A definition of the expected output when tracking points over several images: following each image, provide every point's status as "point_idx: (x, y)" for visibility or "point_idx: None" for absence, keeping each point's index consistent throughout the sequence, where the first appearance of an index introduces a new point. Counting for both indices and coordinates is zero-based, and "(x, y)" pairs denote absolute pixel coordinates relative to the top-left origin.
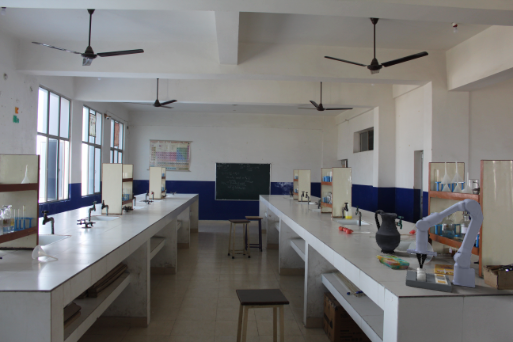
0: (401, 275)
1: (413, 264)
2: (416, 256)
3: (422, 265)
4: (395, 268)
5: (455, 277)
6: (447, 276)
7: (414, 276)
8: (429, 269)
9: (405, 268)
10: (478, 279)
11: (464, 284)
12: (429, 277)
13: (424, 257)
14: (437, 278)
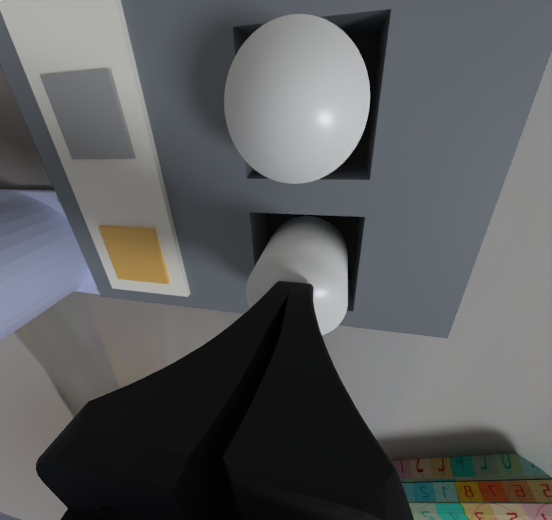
0: (487, 296)
1: None
2: (401, 485)
3: (265, 300)
4: (480, 455)
5: (25, 239)
6: (95, 270)
7: (407, 50)
8: None
9: (399, 460)
10: (46, 365)
11: (7, 199)
12: (209, 131)
13: (129, 414)
14: (109, 80)
